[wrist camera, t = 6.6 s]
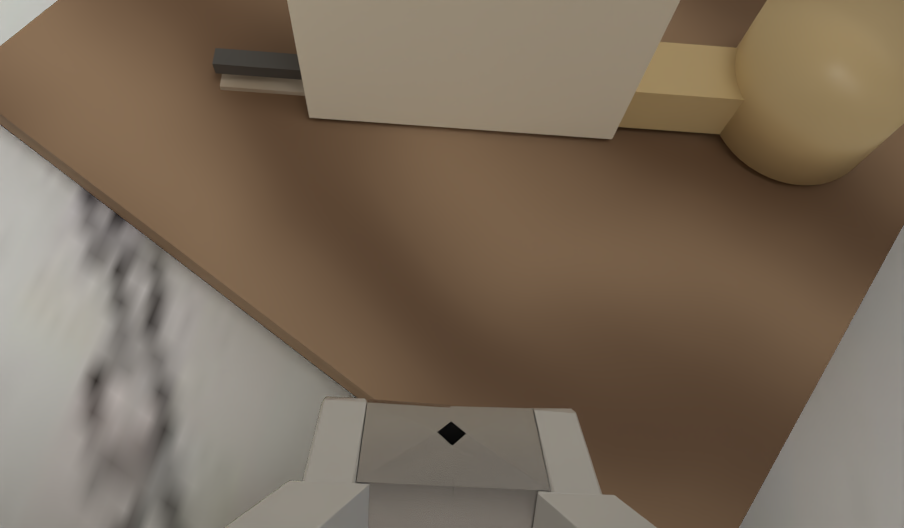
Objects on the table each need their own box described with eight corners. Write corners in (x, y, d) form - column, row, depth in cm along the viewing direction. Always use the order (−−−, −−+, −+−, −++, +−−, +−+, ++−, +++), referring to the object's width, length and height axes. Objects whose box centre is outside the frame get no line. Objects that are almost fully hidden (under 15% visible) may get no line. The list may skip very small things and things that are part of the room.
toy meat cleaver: (854, 55, 22) (1046, -164, 15) (881, 190, 20) (1109, 9, 14) (232, 6, 21) (159, -246, 15) (205, 144, 19) (110, -73, 13)
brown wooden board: (452, -273, 29) (455, -321, 27) (993, 26, 25) (1032, -10, 23) (-15, 113, 21) (-47, 77, 20) (658, 628, 17) (683, 633, 16)
